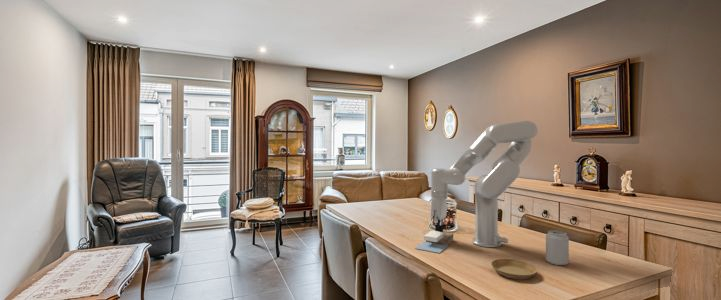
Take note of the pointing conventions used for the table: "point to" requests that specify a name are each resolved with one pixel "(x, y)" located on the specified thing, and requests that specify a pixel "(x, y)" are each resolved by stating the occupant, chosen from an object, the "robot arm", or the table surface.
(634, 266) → the table surface
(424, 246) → the mat
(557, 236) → the can
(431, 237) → the tile
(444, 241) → the step
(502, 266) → the plant saucer
